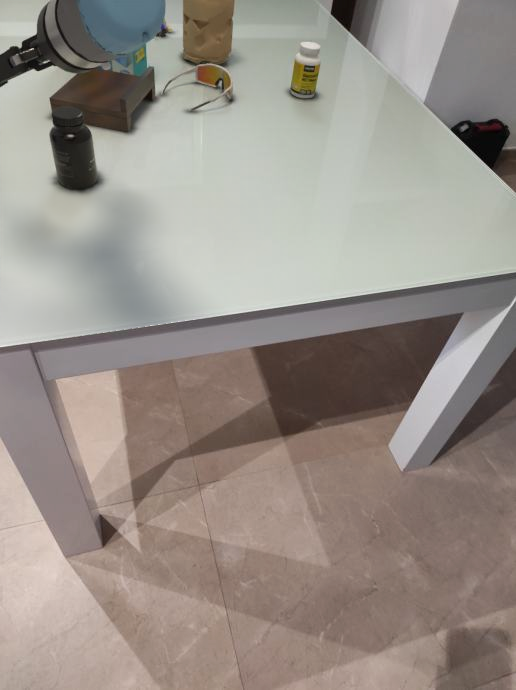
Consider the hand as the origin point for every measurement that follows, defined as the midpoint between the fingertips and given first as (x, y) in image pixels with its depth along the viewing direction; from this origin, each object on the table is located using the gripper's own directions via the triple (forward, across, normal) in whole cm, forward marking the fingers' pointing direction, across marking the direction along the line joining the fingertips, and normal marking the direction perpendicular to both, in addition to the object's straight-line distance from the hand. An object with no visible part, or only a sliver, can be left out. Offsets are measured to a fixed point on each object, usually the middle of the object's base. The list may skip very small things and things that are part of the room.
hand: (35, 60), depth 73 cm
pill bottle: (+24, +63, -26) cm, 72 cm away
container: (+48, +55, -12) cm, 74 cm away
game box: (+51, +29, -4) cm, 59 cm away
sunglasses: (+31, +40, -17) cm, 53 cm away
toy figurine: (+69, +56, -1) cm, 88 cm away
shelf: (+33, +19, -11) cm, 40 cm away
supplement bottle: (+11, 0, -18) cm, 22 cm away
